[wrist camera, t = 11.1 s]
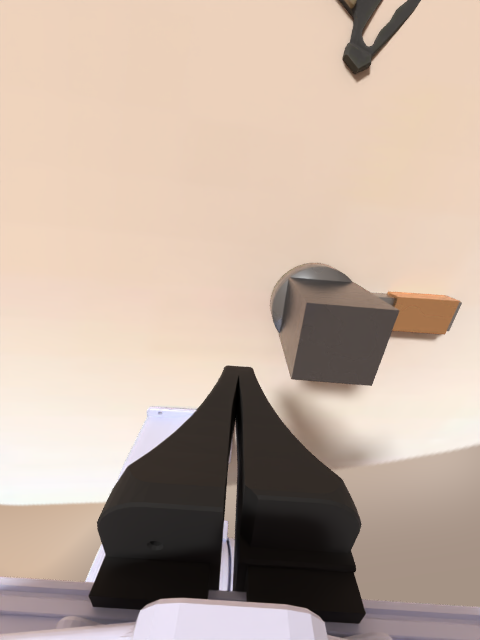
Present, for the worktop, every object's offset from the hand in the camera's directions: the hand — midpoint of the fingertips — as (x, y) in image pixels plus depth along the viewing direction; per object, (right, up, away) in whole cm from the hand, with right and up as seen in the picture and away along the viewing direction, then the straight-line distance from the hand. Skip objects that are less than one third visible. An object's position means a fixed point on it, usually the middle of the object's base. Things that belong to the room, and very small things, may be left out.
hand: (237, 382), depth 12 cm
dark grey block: (+6, +4, +8) cm, 11 cm away
